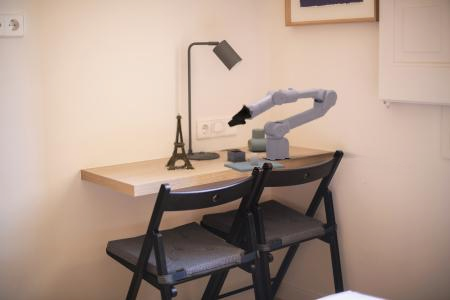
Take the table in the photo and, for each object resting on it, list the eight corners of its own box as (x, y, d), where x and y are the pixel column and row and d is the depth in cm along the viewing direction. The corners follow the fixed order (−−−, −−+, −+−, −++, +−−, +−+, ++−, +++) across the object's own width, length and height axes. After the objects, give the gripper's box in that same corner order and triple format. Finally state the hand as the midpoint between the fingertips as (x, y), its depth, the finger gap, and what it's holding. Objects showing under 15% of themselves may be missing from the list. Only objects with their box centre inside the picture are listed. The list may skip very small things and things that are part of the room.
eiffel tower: (168, 170, 263) (166, 106, 259) (165, 165, 273) (164, 104, 270) (194, 169, 265) (194, 106, 261) (190, 164, 276) (190, 103, 272)
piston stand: (266, 161, 281) (266, 149, 280) (284, 167, 269) (285, 154, 268) (224, 166, 272) (224, 153, 271) (241, 171, 260) (241, 158, 259)
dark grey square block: (238, 159, 287) (238, 150, 287) (245, 161, 282) (245, 152, 282) (227, 160, 285) (227, 151, 284) (233, 162, 280) (233, 153, 279)
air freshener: (246, 149, 315) (246, 128, 313) (263, 148, 316) (263, 127, 315) (253, 153, 304) (253, 131, 302) (270, 152, 306) (270, 130, 304)
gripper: (248, 104, 289) (222, 119, 285) (257, 94, 275) (229, 108, 271) (257, 118, 288) (230, 133, 284) (266, 108, 275) (239, 123, 270)
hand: (231, 122), depth 278 cm, fingers open, 7 cm apart
